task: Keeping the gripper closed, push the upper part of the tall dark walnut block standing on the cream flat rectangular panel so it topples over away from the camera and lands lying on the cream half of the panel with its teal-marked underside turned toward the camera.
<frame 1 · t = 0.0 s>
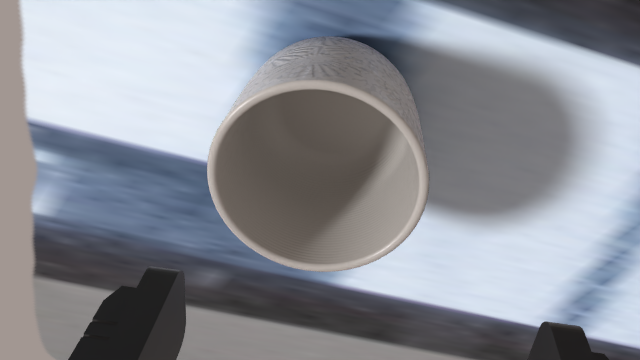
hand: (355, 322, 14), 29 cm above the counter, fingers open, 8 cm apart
planter: (332, 104, 43), on the counter
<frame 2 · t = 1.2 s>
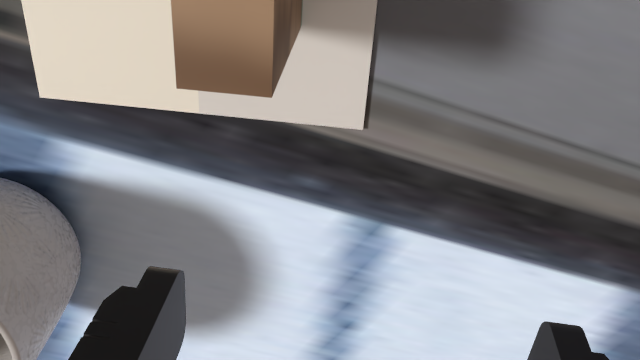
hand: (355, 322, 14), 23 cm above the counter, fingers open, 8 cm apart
planter: (16, 229, 44), on the counter
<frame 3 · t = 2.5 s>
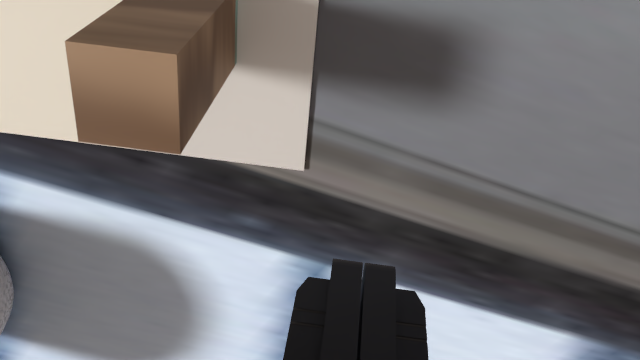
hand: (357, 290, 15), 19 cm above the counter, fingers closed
walnut block: (198, 20, 31), resting on cream flat rectangular panel
cream flat rectangular panel: (122, 10, 31), on the counter
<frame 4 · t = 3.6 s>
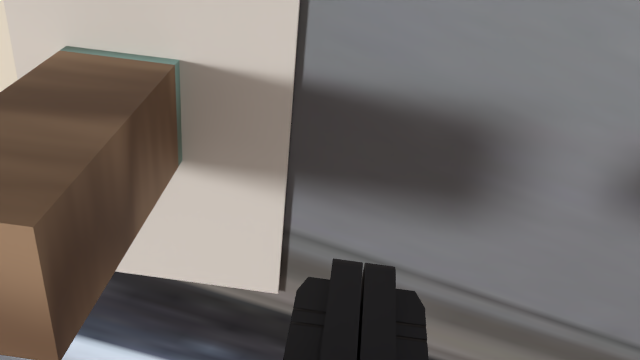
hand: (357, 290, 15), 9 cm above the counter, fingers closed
walnut block: (126, 105, 22), resting on cream flat rectangular panel
cream flat rectangular panel: (22, 89, 22), on the counter
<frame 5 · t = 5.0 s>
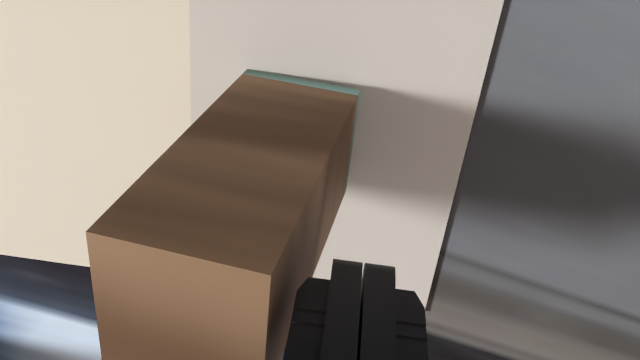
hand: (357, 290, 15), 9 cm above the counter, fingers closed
walnut block: (298, 131, 22), resting on cream flat rectangular panel, tilted 8°
cream flat rectangular panel: (192, 111, 22), on the counter
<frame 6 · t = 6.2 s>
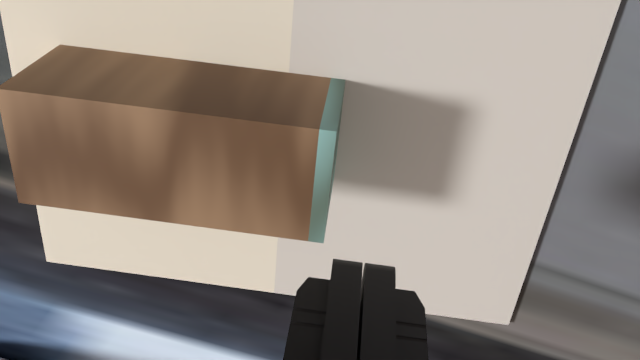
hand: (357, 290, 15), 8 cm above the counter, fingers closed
walnut block: (334, 158, 20), point 2 cm above the counter, tilted 90°, touching cream flat rectangular panel
cream flat rectangular panel: (286, 122, 22), on the counter
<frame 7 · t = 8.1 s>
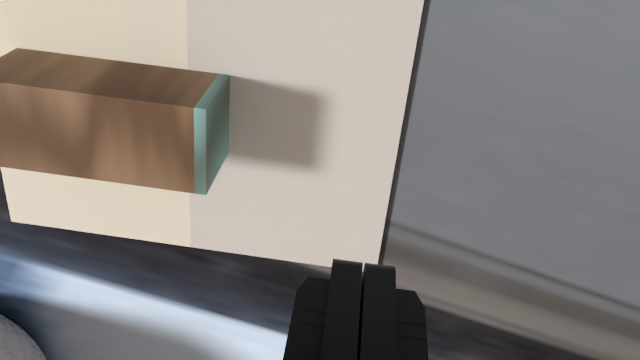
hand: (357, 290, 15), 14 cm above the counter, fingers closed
walnut block: (218, 133, 27), point 2 cm above the counter, tilted 90°, touching cream flat rectangular panel
cream flat rectangular panel: (189, 108, 29), on the counter
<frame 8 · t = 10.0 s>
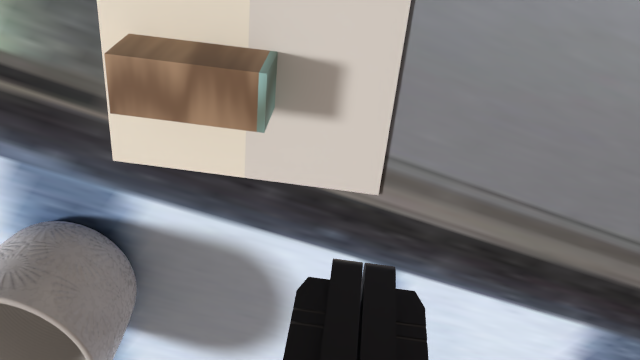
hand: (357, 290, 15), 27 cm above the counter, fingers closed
planter: (80, 263, 52), on the counter
walnut block: (271, 91, 39), point 2 cm above the counter, tilted 90°, touching cream flat rectangular panel
cream flat rectangular panel: (248, 75, 41), on the counter
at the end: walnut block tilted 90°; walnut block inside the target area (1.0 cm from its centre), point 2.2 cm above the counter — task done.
